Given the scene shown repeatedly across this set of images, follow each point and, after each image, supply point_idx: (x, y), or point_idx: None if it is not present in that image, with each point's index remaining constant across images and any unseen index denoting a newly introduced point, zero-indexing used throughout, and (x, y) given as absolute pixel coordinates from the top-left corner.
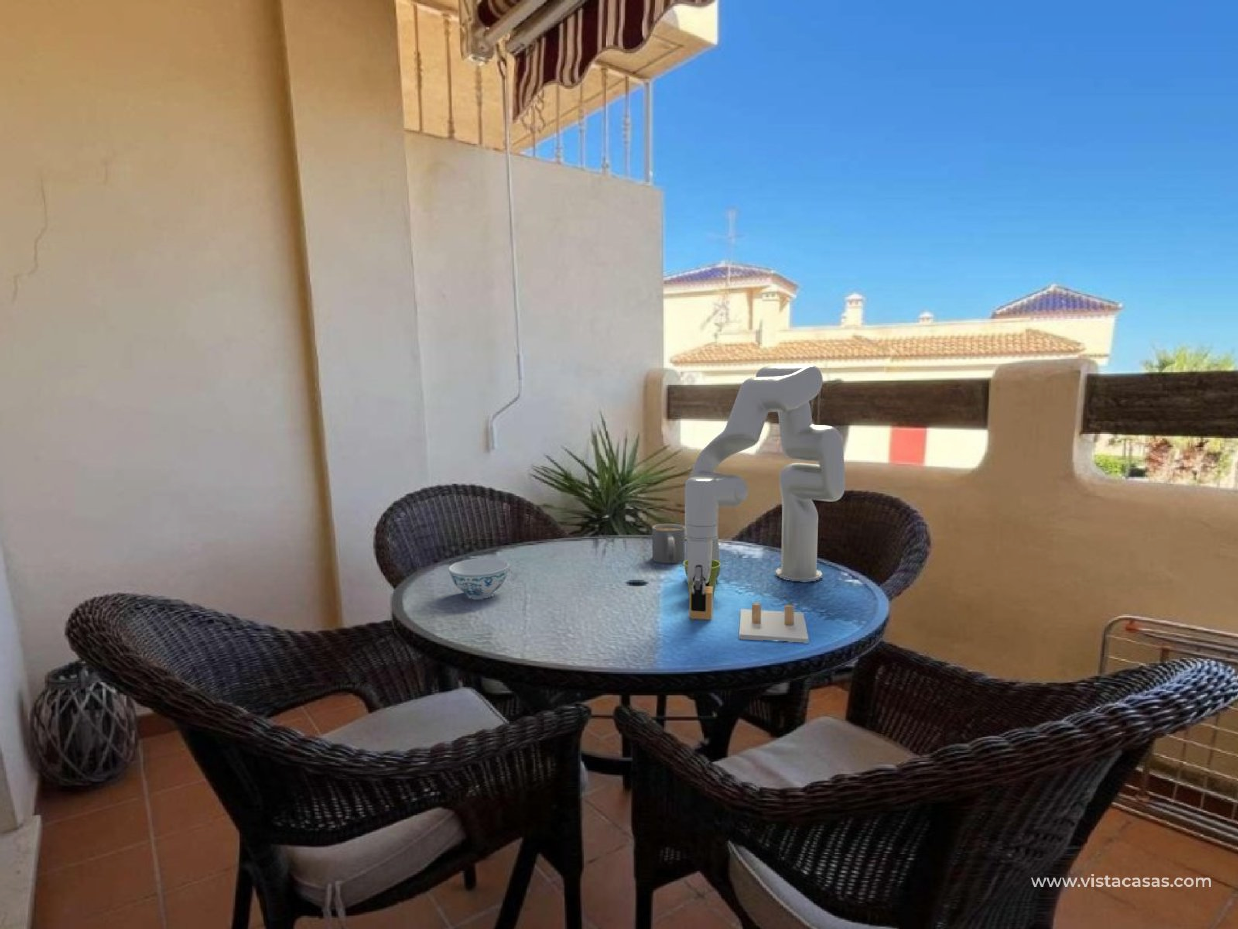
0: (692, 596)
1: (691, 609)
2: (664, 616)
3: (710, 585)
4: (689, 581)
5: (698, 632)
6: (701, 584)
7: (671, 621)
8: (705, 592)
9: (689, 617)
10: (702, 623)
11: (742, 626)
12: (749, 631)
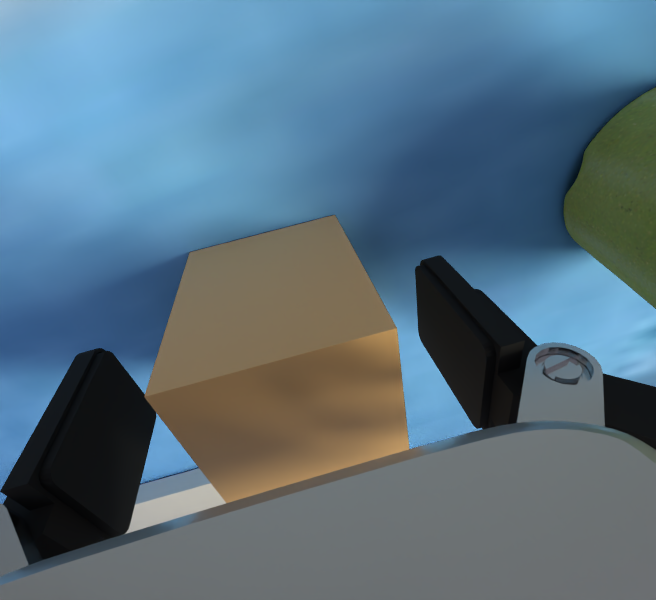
0: (29, 463)
1: (76, 357)
2: (104, 36)
3: (643, 297)
4: (84, 552)
5: (3, 373)
6: (472, 374)
7: (36, 153)
8: (225, 487)
9: (189, 255)
10: (157, 342)
11: (173, 500)
12: (134, 529)
